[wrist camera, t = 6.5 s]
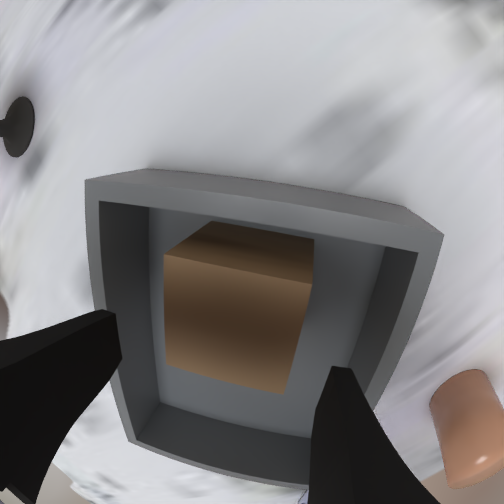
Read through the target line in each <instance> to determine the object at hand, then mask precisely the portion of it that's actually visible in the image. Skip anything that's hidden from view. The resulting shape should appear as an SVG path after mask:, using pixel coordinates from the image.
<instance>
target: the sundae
mask: <svg viewBox="0 0 504 504" xmlns="http://www.w3.org/2000/svg"><path fill="white" fill-rule="evenodd" d="M33 127H34V111H33V107H32V104H31V102H30V101H29V99H28V98H26V97H19V98H17V99H16V100H15V101H14V102H13V103H12V105H11V106H10V108H9V110H8V111H7V114H6V117H5V119H3V120H0V137H3V140H4V145H5V148H6V150H7V152H8V154H9V155H10V156H12V157H19V156H21V155H22V154H23V153H24V152H25V150H26V149H27V147H28V145H29V143H30V140H31V137H32V134H33Z"/></svg>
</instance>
